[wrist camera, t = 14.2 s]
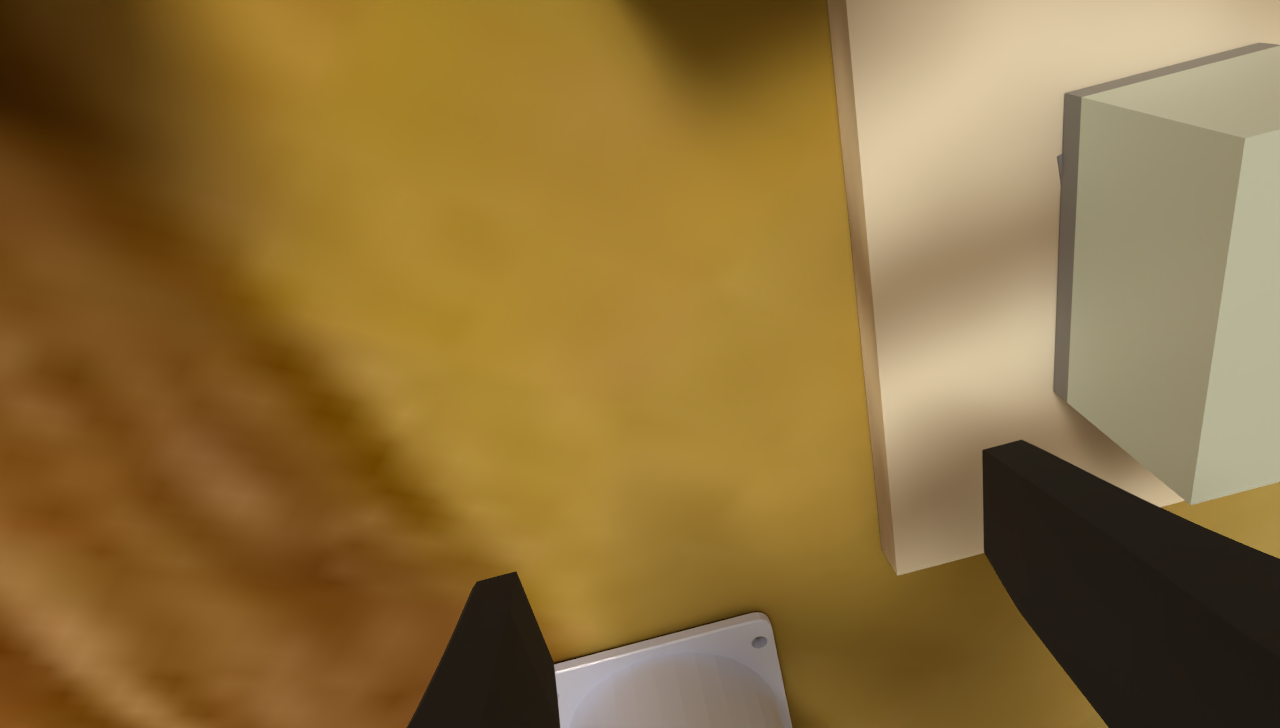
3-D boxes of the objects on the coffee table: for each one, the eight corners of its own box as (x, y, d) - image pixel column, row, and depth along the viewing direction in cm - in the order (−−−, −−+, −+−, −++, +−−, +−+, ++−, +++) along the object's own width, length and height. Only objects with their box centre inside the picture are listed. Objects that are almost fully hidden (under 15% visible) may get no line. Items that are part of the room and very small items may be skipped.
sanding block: (1213, 350, 21) (1391, 452, 17) (1053, 391, 21) (1191, 505, 17) (1259, 42, 17) (1505, 70, 13) (1065, 92, 17) (1245, 138, 13)
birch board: (1305, 438, 25) (1341, 461, 24) (881, 549, 25) (898, 577, 24) (1463, -253, 16) (1531, -269, 15) (818, -86, 16) (839, -89, 15)
